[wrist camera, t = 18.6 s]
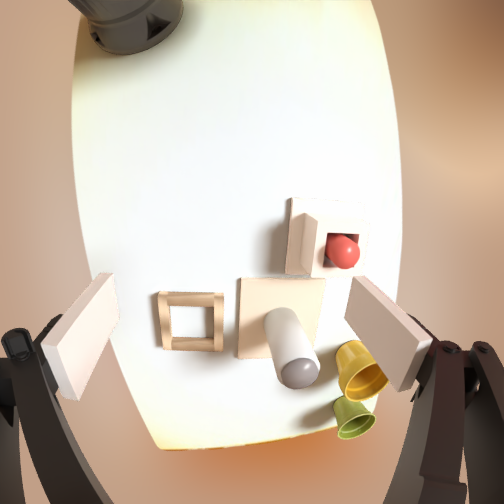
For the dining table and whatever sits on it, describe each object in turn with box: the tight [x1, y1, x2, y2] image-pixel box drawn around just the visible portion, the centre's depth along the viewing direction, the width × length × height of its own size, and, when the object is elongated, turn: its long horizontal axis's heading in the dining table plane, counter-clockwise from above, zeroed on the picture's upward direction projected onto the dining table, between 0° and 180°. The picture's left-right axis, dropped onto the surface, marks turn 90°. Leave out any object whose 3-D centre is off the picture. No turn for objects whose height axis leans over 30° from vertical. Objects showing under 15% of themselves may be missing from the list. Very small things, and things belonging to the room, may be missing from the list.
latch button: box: [324, 233, 360, 269], centre depth 39 cm, size 4×4×5 cm
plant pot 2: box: [333, 396, 376, 439], centre depth 55 cm, size 9×9×9 cm
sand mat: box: [238, 277, 326, 359], centre depth 48 cm, size 16×14×1 cm
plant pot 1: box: [335, 340, 389, 402], centre depth 49 cm, size 10×10×10 cm
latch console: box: [285, 198, 370, 278], centre depth 42 cm, size 12×12×7 cm
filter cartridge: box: [263, 307, 320, 389], centre depth 41 cm, size 6×6×14 cm
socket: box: [157, 291, 224, 351], centre depth 46 cm, size 10×10×2 cm
